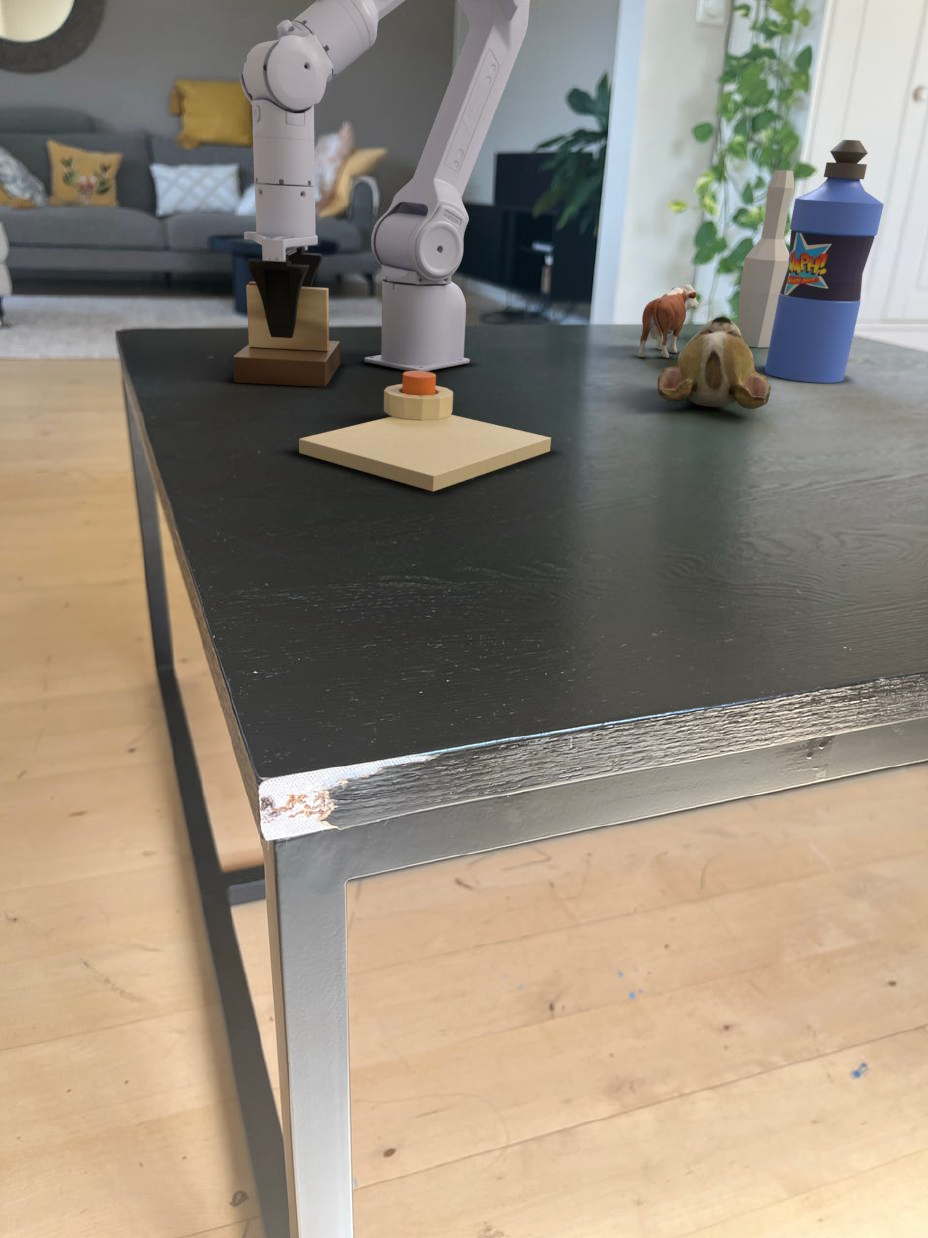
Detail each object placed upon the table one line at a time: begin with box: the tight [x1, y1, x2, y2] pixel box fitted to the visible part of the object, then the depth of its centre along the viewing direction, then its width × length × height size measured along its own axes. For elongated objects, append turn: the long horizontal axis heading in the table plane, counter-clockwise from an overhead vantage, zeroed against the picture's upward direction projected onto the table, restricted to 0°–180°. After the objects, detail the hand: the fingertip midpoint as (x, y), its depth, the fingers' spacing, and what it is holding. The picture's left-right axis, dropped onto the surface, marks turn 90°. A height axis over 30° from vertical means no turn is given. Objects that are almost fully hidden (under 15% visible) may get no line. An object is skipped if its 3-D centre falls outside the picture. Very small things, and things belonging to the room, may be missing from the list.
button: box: [401, 371, 437, 396], centre depth 80 cm, size 3×3×2 cm
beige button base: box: [298, 383, 552, 492], centre depth 75 cm, size 16×15×3 cm
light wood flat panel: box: [245, 281, 330, 351], centre depth 97 cm, size 8×1×6 cm, turn 90°
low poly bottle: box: [737, 169, 795, 348], centre depth 128 cm, size 6×6×22 cm
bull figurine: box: [637, 283, 700, 359], centre depth 120 cm, size 4×13×8 cm, turn 148°
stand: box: [232, 340, 341, 388], centre depth 98 cm, size 12×9×2 cm
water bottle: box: [764, 139, 885, 384], centre depth 108 cm, size 9×9×25 cm
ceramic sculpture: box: [657, 316, 772, 410], centre depth 94 cm, size 11×9×15 cm
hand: (288, 331), depth 97 cm, fingers open, 7 cm apart
